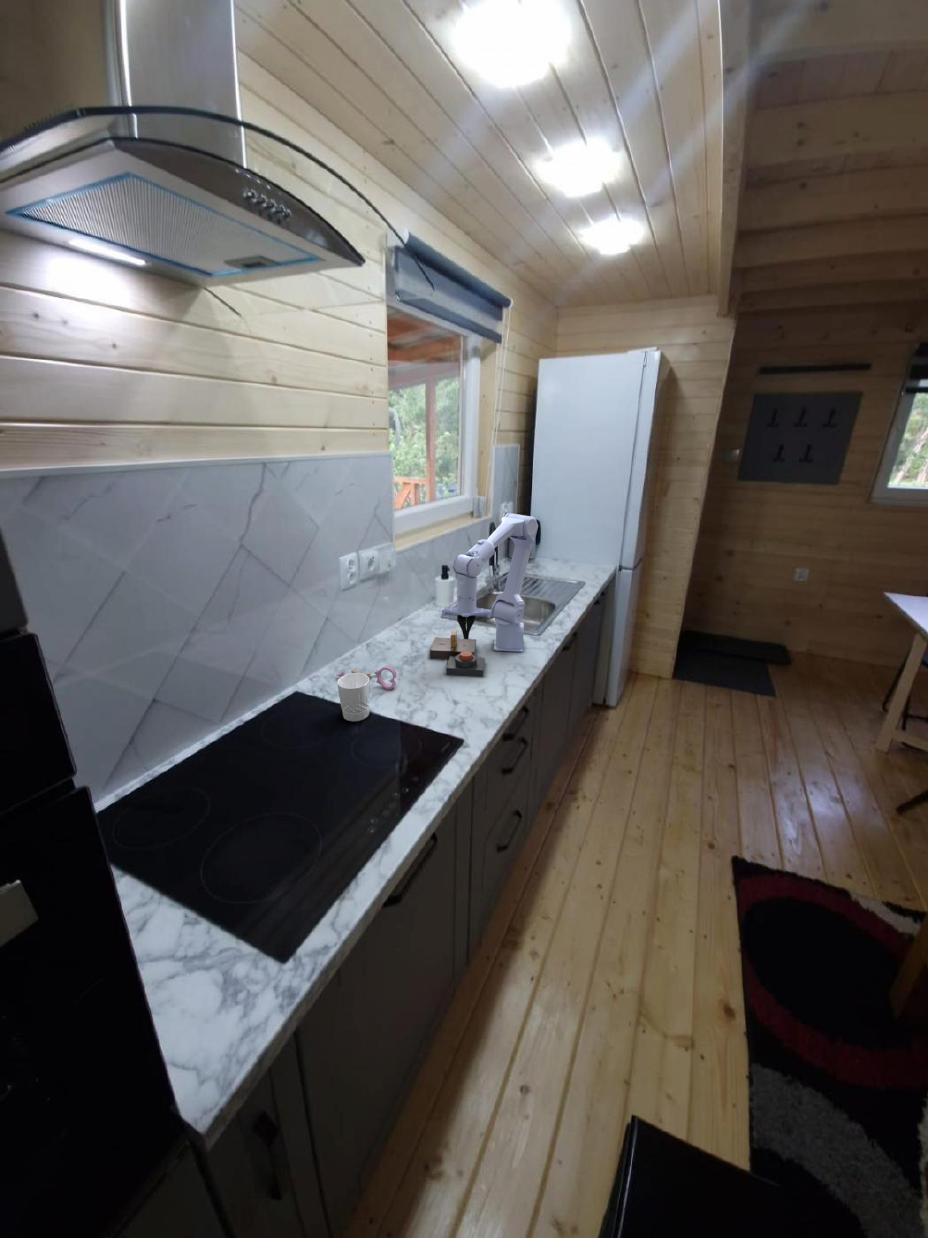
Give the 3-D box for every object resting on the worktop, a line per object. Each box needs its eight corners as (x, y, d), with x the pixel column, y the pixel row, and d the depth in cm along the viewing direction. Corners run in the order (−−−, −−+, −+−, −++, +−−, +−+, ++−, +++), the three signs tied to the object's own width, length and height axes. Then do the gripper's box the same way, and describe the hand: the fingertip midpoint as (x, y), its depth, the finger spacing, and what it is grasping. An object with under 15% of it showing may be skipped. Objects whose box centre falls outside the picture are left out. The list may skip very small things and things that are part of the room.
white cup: (377, 714, 128) (375, 680, 124) (352, 727, 123) (349, 691, 119) (359, 703, 133) (357, 670, 129) (334, 714, 127) (331, 680, 124)
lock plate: (476, 647, 166) (476, 638, 165) (473, 660, 157) (474, 651, 156) (434, 645, 167) (434, 636, 166) (430, 658, 158) (430, 649, 157)
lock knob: (452, 641, 163) (452, 629, 161) (456, 641, 163) (457, 629, 161) (450, 647, 159) (450, 635, 157) (455, 647, 159) (455, 635, 157)
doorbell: (484, 664, 155) (484, 652, 153) (483, 676, 147) (483, 664, 146) (449, 662, 156) (449, 651, 154) (446, 674, 148) (446, 662, 147)
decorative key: (339, 685, 147) (399, 687, 140) (337, 687, 146) (397, 689, 139) (334, 664, 145) (394, 666, 138) (332, 666, 144) (392, 667, 137)
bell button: (472, 656, 152) (472, 651, 151) (471, 661, 148) (471, 656, 148) (460, 655, 152) (460, 650, 151) (459, 661, 149) (459, 655, 148)
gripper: (440, 599, 142) (440, 642, 147) (490, 601, 141) (489, 644, 146) (443, 591, 148) (443, 632, 153) (491, 593, 147) (490, 634, 152)
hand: (466, 637), depth 150 cm, fingers closed
